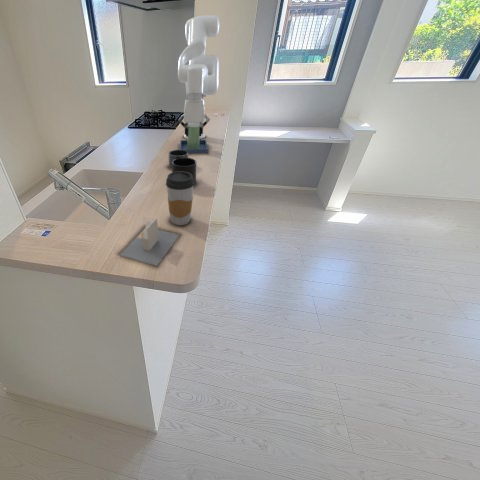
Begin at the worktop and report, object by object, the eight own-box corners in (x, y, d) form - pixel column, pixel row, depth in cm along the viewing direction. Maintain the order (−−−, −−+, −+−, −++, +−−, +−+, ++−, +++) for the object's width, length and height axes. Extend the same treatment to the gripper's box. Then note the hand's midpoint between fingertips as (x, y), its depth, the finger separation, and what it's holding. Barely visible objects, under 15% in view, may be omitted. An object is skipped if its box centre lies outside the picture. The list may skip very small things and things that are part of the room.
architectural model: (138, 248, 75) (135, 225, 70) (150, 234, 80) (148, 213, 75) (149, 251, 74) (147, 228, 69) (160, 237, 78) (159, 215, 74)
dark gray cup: (169, 163, 126) (169, 149, 123) (188, 163, 126) (188, 149, 122) (168, 170, 119) (168, 156, 116) (188, 170, 119) (188, 156, 115)
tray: (180, 144, 149) (180, 140, 148) (205, 144, 148) (206, 139, 146) (179, 154, 136) (179, 149, 135) (207, 154, 135) (207, 149, 133)
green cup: (187, 146, 144) (187, 123, 137) (199, 146, 144) (200, 123, 137) (187, 150, 139) (187, 127, 132) (199, 150, 139) (200, 126, 132)
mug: (198, 177, 112) (199, 156, 107) (193, 189, 103) (194, 167, 98) (176, 175, 114) (176, 154, 109) (169, 187, 105) (169, 165, 100)
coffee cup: (193, 213, 88) (194, 170, 80) (193, 227, 82) (194, 182, 73) (168, 213, 89) (166, 170, 80) (166, 227, 83) (164, 182, 74)
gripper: (212, 94, 129) (210, 133, 140) (176, 96, 131) (177, 134, 141) (213, 97, 123) (211, 137, 134) (176, 98, 125) (176, 138, 135)
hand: (193, 135), depth 137 cm, fingers closed on green cup, 6 cm apart
